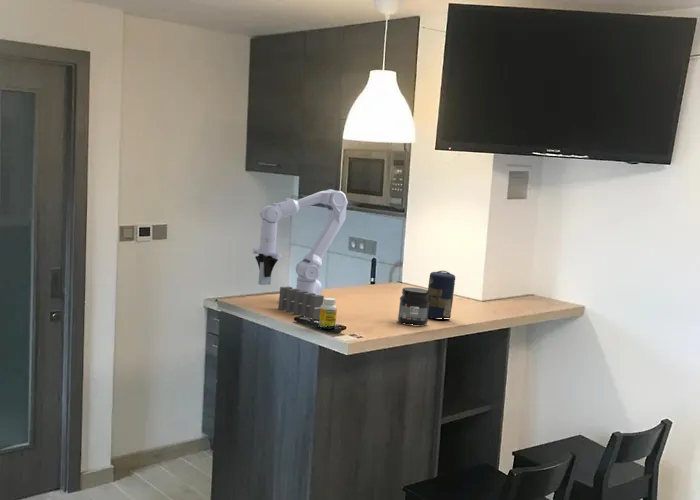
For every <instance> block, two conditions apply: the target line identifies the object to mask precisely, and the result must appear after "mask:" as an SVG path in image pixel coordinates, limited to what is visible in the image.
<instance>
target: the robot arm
mask: <svg viewBox="0 0 700 500" xmlns="http://www.w3.org/2000/svg"><path fill="white" fill-rule="evenodd" d="M317 204H323V205H324V206H325V207H326V208H327V210H328V213H329V218H328V220H327V222H326V224H325V225H324V227H323V229H322V231H321V232H320V235H319V236H318V237H317V239H316V241H315V242H314V244H313V247H312V248H311V249H310V251H309V252H308V253H307V254H305V255H304V257H303V258H302V260H300V261H299V262H298V263H297V264H296V266H295V272H296V274H297V278H296V284H295V289H300V291H307V292H308V293H314V294H316V295H322V291H323V286H322V283H321V281H319V279H318V278H319V276H320V272H321V271H320V270H321V268H322V266H323V263H322V262H323V259H324V257H325V255H326V253H327V252H328V250H329V248H330V247H331V245H332V243H333V241H334V239H335V238H336V236H337V235H338V233H339V231H340V230H341V228H342V226H343V224H344V223H345V221H346V219H347V218H346V217H347V206H348V204H349V201H348V198H347V196H346V194H345V193H344V192H343V191H341V190H335V189H330V188H329V189H326V190H321V191H318V192H315V193H313V194H310V195H307V196H304V197H302V198H299V199H297V200H296V199H294V198H289V197H287V198H284V200H283V201H280V202H273V203H272V205H266V206H264V207H263V208H262V209H261V210H260V213H259V214H260V215H259V216H260V218H261V226H260V227H261V228H260V237H259V238H260V239H259V248H258V247H256V248H255V247H254V248H252V254H254V255H255V257H254V258H255V261H256V262H257V263H256V264H257V265H258V271H259V270H260V262H264V276H265V277H270V275H271V276H272V272H273V269H274V267H275V265H276V264H277V262H279V260H282V258H283V253H280V252H278V251H276V245H277V235H278V234H277V233H278V222H279V221H280V220H281V219H282V220H283V219H285V218H287V217H290V216H293V215H296V214H297V213H298V212H299V210H300V209H304V208H307V207H309V206H313V205H317Z"/></svg>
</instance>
